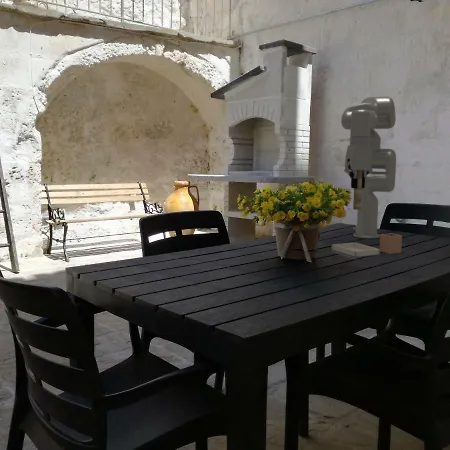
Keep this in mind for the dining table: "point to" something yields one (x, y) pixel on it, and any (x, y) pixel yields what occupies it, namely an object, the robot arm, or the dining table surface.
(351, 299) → the dining table surface
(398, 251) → the terracotta cup
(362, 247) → the plastic tray
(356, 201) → the beech dowel
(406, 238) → the dining table surface
